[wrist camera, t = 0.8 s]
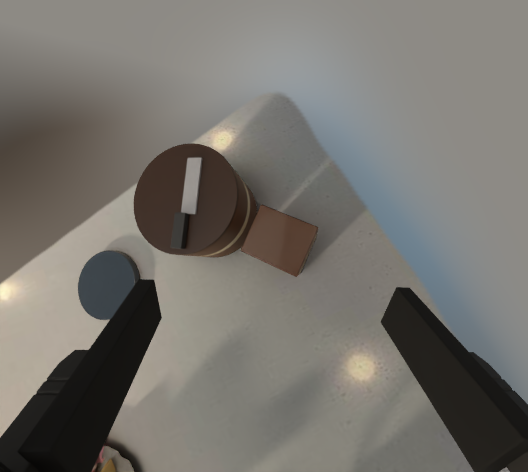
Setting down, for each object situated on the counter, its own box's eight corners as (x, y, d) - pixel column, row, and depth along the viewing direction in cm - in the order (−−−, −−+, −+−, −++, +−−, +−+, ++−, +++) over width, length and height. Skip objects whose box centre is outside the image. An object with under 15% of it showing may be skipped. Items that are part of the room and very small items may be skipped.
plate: (101, 240, 35) (95, 240, 34) (150, 267, 32) (145, 268, 32) (74, 299, 35) (67, 300, 34) (121, 330, 32) (115, 332, 31)
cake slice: (258, 253, 29) (239, 250, 22) (274, 219, 30) (260, 204, 22) (300, 273, 28) (296, 277, 20) (316, 237, 28) (318, 227, 20)
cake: (198, 163, 33) (157, 125, 24) (271, 190, 30) (254, 160, 21) (165, 236, 33) (110, 226, 24) (234, 271, 30) (202, 275, 21)
